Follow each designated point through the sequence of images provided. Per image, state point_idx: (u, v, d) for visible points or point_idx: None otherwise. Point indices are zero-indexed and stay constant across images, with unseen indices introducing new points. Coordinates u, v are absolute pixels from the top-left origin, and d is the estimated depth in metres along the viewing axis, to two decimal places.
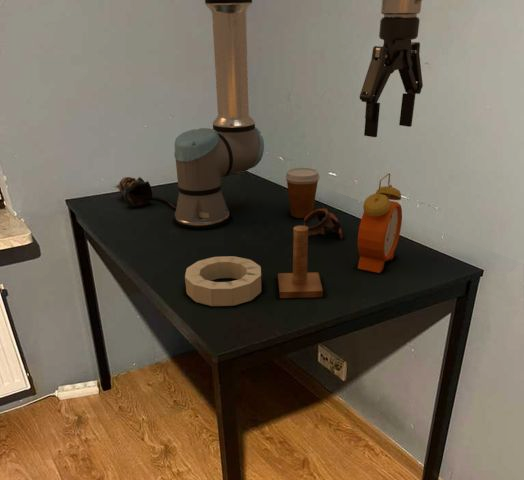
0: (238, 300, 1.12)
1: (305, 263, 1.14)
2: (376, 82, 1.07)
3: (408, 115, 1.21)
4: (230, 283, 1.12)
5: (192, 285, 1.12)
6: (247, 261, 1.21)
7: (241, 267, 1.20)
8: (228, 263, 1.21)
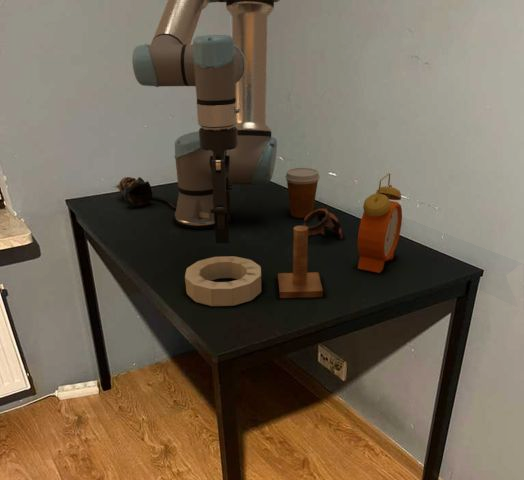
0: (238, 300, 1.12)
1: (305, 263, 1.14)
2: (225, 194, 1.06)
3: (227, 210, 1.22)
4: (230, 283, 1.12)
5: (192, 285, 1.12)
6: (247, 261, 1.21)
7: (241, 267, 1.20)
8: (228, 263, 1.21)
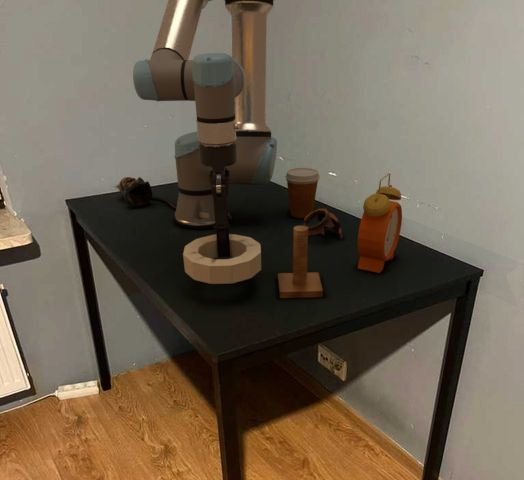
0: (237, 277, 1.10)
1: (305, 263, 1.14)
2: (226, 213, 1.11)
3: None
4: (229, 260, 1.09)
5: (191, 262, 1.10)
6: (246, 238, 1.18)
7: (240, 245, 1.17)
8: None
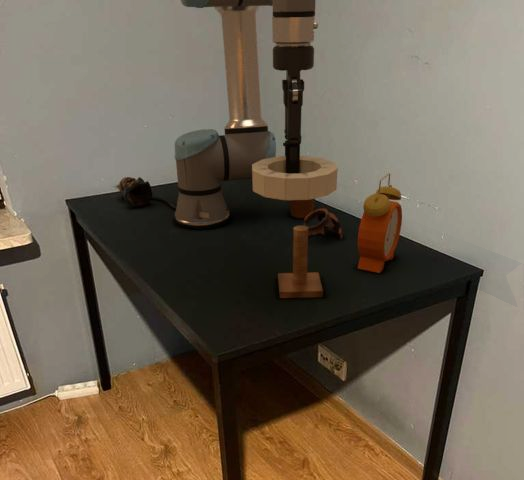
0: (314, 193, 0.99)
1: (305, 263, 1.14)
2: (300, 124, 1.02)
3: None
4: (305, 174, 0.99)
5: (262, 177, 1.00)
6: (318, 158, 1.08)
7: (312, 164, 1.07)
8: None
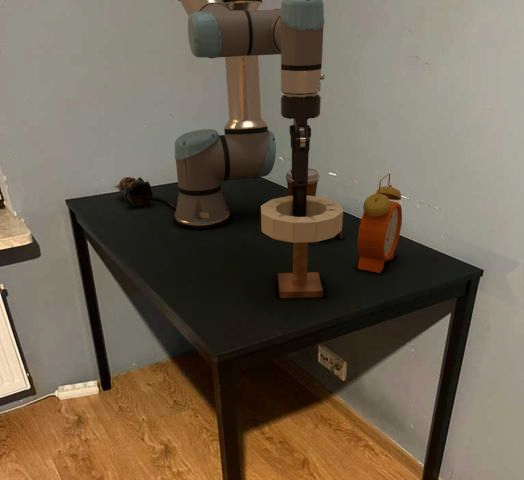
0: (321, 236, 1.04)
1: (305, 263, 1.14)
2: (307, 169, 1.06)
3: None
4: (312, 217, 1.04)
5: (271, 220, 1.04)
6: (324, 199, 1.13)
7: (318, 205, 1.12)
8: None
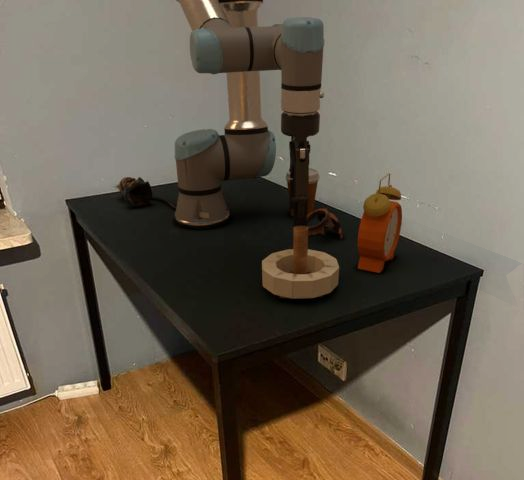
0: (318, 292, 1.11)
1: (305, 263, 1.14)
2: None
3: None
4: (310, 275, 1.11)
5: (272, 277, 1.11)
6: (321, 253, 1.20)
7: (316, 260, 1.19)
8: None
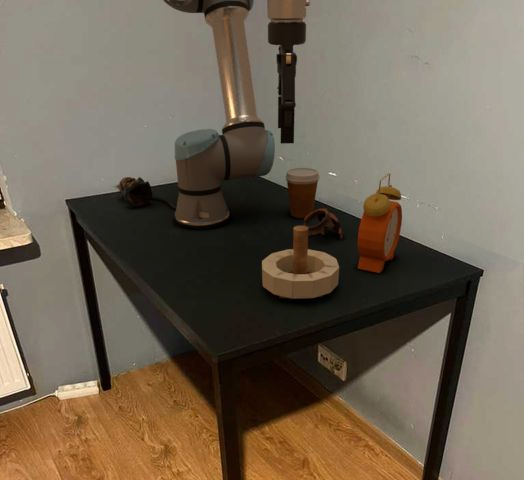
0: (318, 292, 1.11)
1: (305, 263, 1.14)
2: (294, 88, 1.06)
3: None
4: (310, 275, 1.11)
5: (272, 277, 1.11)
6: (321, 253, 1.20)
7: (316, 260, 1.19)
8: None
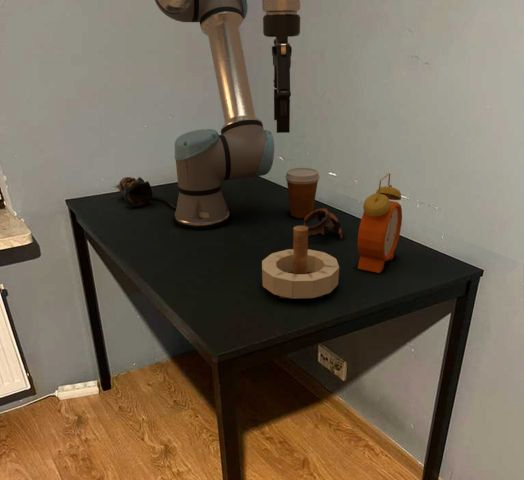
0: (318, 292, 1.11)
1: (305, 263, 1.14)
2: (289, 78, 1.09)
3: None
4: (310, 275, 1.11)
5: (272, 277, 1.11)
6: (321, 253, 1.20)
7: (316, 260, 1.19)
8: None
